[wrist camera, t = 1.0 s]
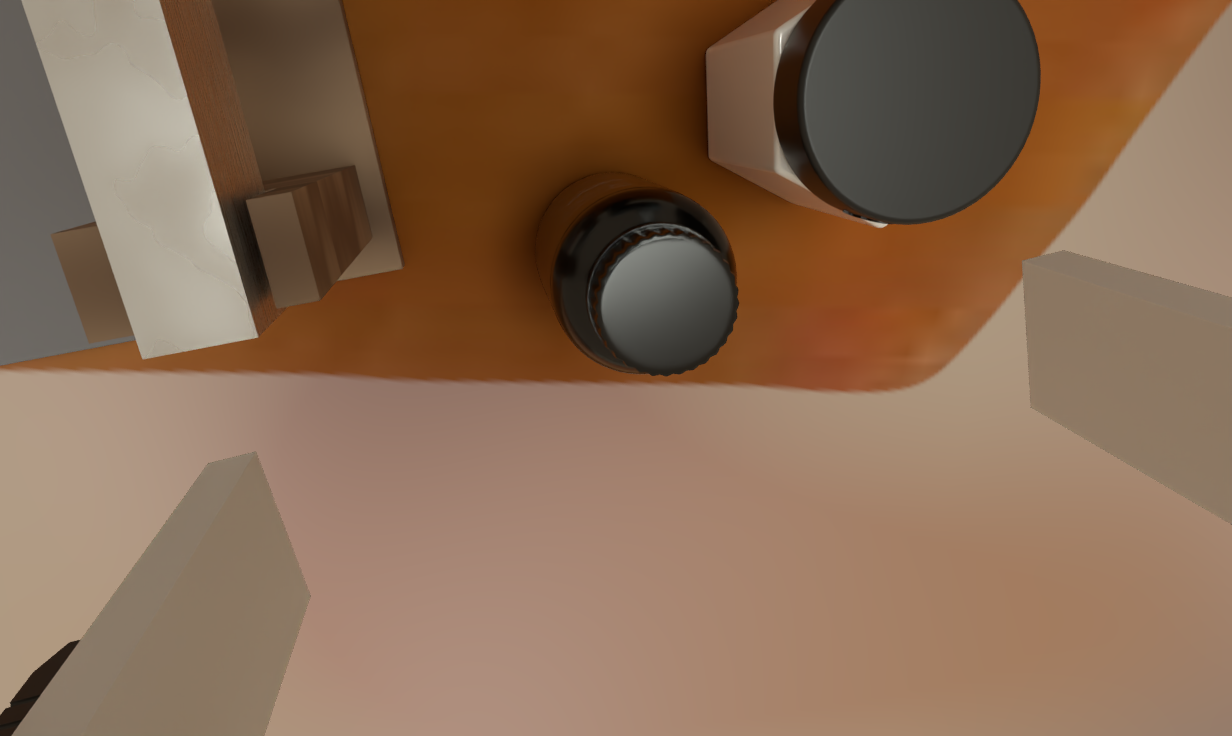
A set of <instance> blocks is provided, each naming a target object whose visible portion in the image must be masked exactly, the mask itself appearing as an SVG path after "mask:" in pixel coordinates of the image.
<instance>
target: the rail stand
mask: <svg viewBox="0 0 1232 736" xmlns="http://www.w3.org/2000/svg"><path fill="white" fill-rule="evenodd" d="M212 3H213V6H214V10H215V13H216V17H217V21H218V24H219V28H220V31H221V35H222V39H223V42H224V46H225V49H226V53H227V57H228V60H229V64H230V67H231V71H232V75H233V78H234V82H235V85H236V89H237V93H238V96H239V100H240V103H241V107H242V111H243V114H244V118H245V121H246V125H247V129H248V132H249V136H250V139H251V143H252V147H253V150H254V154H255V157H256V161H257V165H258V168H259V172H260V175H261V179H262V183H263V186H264V190H265V193H263V194H260V195H258V196H255V197H252V198H250V199H247V200H246V203H247V207H248V210H249V214H250V217H251V221H252V224H253V228H254V231H255V235H256V238H257V242H258V245H259V249H260V252H261V256H262V260H263V263H264V267H265V270H266V274H267V277H268V281H269V284H270V288H271V291H272V295H273V298H274V302H275V305H276V309H277V308H282V307H288V306H293V305H298V304H304V303H309V302H314V301H320V300H321V299H322V298H323V297H324V295H325V294H326V293H327V292H328V291H329V289H330V288H331V287H332V286H333V285H334V283H335V282H336V281H340V280H345V279H350V278H356V277H361V276H366V275H372V274H377V273H383V272H388V271H393V270H399V269H403V267H404V260H403V256H402V252H401V248H400V243H399V239H398V235H397V231H396V227H395V222H394V218H393V214H392V210H391V205H390V201H389V197H388V193H387V189H386V184H385V180H384V176H383V172H382V167H381V163H380V159H379V155H378V150H377V146H376V142H375V138H374V134H373V129H372V125H371V121H370V117H369V112H368V108H367V104H366V100H365V96H364V91H363V87H362V83H361V79H360V74H359V70H358V66H357V62H356V58H355V53H354V49H353V45H352V41H351V36H350V32H349V28H348V24H347V20H346V15H345V11H344V7H343V3H342V0H212ZM50 235H51V238H52V241H53V243H54V246H55V249H56V252H57V255H58V258H59V260H60V263H61V266H62V269H63V272H64V275H65V277H66V280H67V283H68V286H69V289H70V291H71V294H72V297H73V300H74V303H75V306H76V308H77V311H78V314H79V317H80V320H81V322H82V325H83V328H84V331H85V334H86V337H87V339H88V342H89V344H90V343H96V342H101V341H106V340H112V339H117V338H122V337H128V336H133V335H134V333H133V330H132V327H131V324H130V321H129V318H128V315H127V312H126V309H125V306H124V303H123V300H122V297H121V294H120V291H119V288H118V285H117V282H116V279H115V276H114V273H113V271H112V268H111V265H110V262H109V259H108V256H107V253H106V250H105V247H104V244H103V241H102V238H101V235H100V232H99V229H98V226H97V223H96V221H95V222H92V223H88V224H85V225H81V226H78V227H74V228H71V229H67V230H63V231H60V232H56V233H53V234H50Z"/></svg>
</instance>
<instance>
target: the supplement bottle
mask: <svg viewBox="0 0 1232 736" xmlns="http://www.w3.org/2000/svg"><path fill="white" fill-rule="evenodd" d="M535 257H536V265H537V270H538V273H539V277H540V280H541V282H542V285H543V287H544V289H545V292H546V294H547V296H548V299H549V301H550V303H551V305H552V308H553V310H554V312H555V314H556V317H557V319H558V321H559V323H560V325H561V327H562V328H563V330H564V332H565V333H566V335H567V336H568V337H569V339H570V340H571V341H572V342H573V344H574V345H575V346H576V347H577V348H578V349H579V350H580V351H581V352H582V353H584V354H585V355H586V356H587V357H589V358H590V359H592V360H593V361H595V362H597V363H598V364H600V365H602V366H605V367H607V368H609V369H612V370H616V371H619V372H624V373H631V374H650V375H652V376H655V375H659V374H661V375H663V376H669V375H671V374H682V373H684V372H685V371H686V370H694V369H695V368H696V367H697V366H698V365H701V364H704V363H706V362H707V361H708V359H709V358H710V357H712V356H714V355H716V354H717V353H718V351H719V348H720V347H721V346H723V345H724V344H725V343H726V341H727V337H728V335H729V334H730V333H731V332H732V331H733V323H734V322H735V321H736V319H737V312H736V310H737V308H738V306H739V301H738V298H737V295H738V288H737V286H736V284H737V272H736V263H735V259H734V254H733V251H732V248H731V245H730V243H729V240H728V238H727V236H726V234H725V232H724V231H723V229H722V228H721V226H720V225H719V223H718V222H717V221H716V220H715V218H714V217H713V216H712V215H711V214H710V213H709V212H708V211H707V210H705V209H704V208H703V207H702V206H700V205H699V204H698V203H696V202H695V201H693V200H691V199H690V198H688V197H686V196H683V195H682V194H680V193H678V192H675V191H673V190H670V189H668V188H666V187H663V186H661V185H658V184H656V183H653V182H651V181H649V180H646V179H643V178H641V177H637V176H634V175H630V174H625V173H614V172H611V173H601V174H595V175H591V176H588V177H586V178H583V179H581V180H579V181H577V182H575V183H573V184H572V185H570V186H568V187H567V188H566V189H565V190H563V191H562V192H561V193H560V194H559V195H558V196H557V197H556V198H555V199H554V200H553V201H552V203H551V204H550V206H549V207H548V208H547V210H546V212H545V214H544V215H543V218H542V220H541V222H540V225H539V228H538V232H537V236H536V244H535Z"/></svg>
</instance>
